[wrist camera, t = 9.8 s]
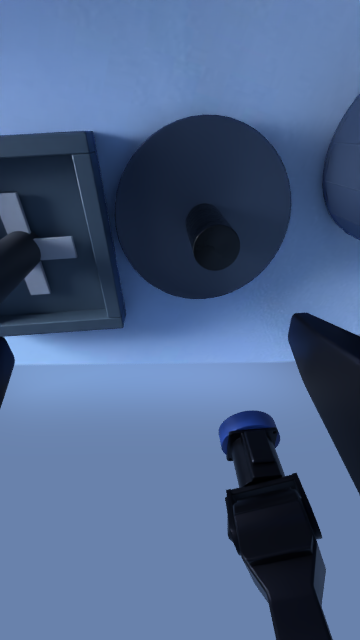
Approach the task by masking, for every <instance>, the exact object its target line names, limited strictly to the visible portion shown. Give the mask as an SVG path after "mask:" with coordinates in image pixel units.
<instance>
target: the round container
mask: <svg viewBox="0 0 360 640" xmlns="http://www.w3.org/2000/svg"><path fill="white" fill-rule="evenodd" d="M323 195H324V199H325V204H326V207H327V209H328V212H329V214H330V215H331V217H332V219H333V220H334V221H335V223H336V224H337V225H338V226H339V227H340V228H342V229H343V230H344V232H346V233H347V234H349V235H351V236H353V237H355V238H357V239H359V240H360V94H359V96H358V97H357V98H356V99H355V101H354V102H353V103H352V105H351V106H350V107H349V109H348V110H347V112H346V113H345V115H344V117H343V118H342V120H341V122H340V123H339V125H338V127H337V129H336V132H335V134H334V136H333V138H332V141H331V143H330V146H329V149H328V152H327V156H326V160H325V165H324V171H323Z"/></svg>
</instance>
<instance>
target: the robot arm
mask: <svg viewBox="0 0 360 640" xmlns="http://www.w3.org/2000/svg"><path fill="white" fill-rule="evenodd" d="M288 341H289V344H290V347H291V350H292V352H293V355H294V358H295V361H296V364H297V366H298V369H299V372H300V375H301V377H302V380H303V382H304V384H305V387H306V388H307V391H308V393H309V395H310V397H311V399H312V401H313V403H314V405H315V407H316V408H317V411H318V413H319V414H320V417H321V419H322V420H323V423H324V424H325V427H326V428H327V430H328V433H329V434H330V436H331V438H332V440H333V442H334V444H335V446H336V448H337V450H338V452H339V454H340V456H341V458H342V460H343V462H344V464H345V466H346V468H347V470H348V472H349V474H350V476H351V478H352V480H353V482H354V484H355V486H356V488H357V490H358V492H359V494H360V336H358V335H355V334H353V333H351V332H349V331H346V330H344V329H342V328H340V327H338V326H335V325H333V324H331V323H329V322H327V321H324V320H322V319H320V318H318V317H316V316H313V315H311V314H309V313H295V314H294V315H293V316H292V318H291V323H290V328H289V333H288ZM14 363H15V359H14V355H13V353H12V351H11V349H10V347H9V345H8V343H7V341H6V340H5V338H3V337H1V336H0V408H1V405H2V402H3V399H4V396H5V392H6V389H7V386H8V383H9V379H10V377H11V373H12V370H13V367H14ZM277 435H278V430H277V428H276V427H271V428H259V429H247V430H234V431H230V432H229V433H228V443H227V455H226V457H227V460H228V461H234V466H235V470H236V474H237V479H238V483H239V488H236V489H232V490H231V489H229V490H226V492H227V497H226V498H225V501H226V506H227V513H228V537H229V539H230V540H231V541H232V542H233V543H234V545H235V547H236V550H237V552H238V554H239V555H241V556H242V559H243V561H244V563H245V565H246V567H247V569H248V571H249V573H250V575H251V577H252V579H253V581H254V583H255V585H256V586H257V588H258V589H259V590H260V592H261V593H262V595H263V596H264V597H265V599H266V600H267V602H268V603H269V607H270V612H271V617H272V621H273V626H274V631H275V635H276V640H333V639H332V636H331V634H330V630H329V628H328V625H327V622H326V619H325V616H324V613H323V610H322V606H321V605H322V597H323V589H324V581H325V573H326V569H325V565H324V562H323V559H322V556H321V553H320V550H319V547H318V544H317V541H316V539H321V538H322V535H321V532H320V529H319V526H318V524H317V521H316V518H315V516H314V513H313V511H312V508H311V506H310V503H309V501H308V499H307V497H306V494H305V492H304V489H303V487H302V485H301V482H300V480H299V478H298V475H297V473H293V474H292V475H289V476H285V475H284V472H283V469H282V466H281V464H280V461H279V458H278V455H277V453H276V450H275V443H276V439H277Z"/></svg>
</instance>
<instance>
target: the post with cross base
mask: <svg viewBox="0 0 360 640" xmlns="http://www.w3.org/2000/svg"><path fill="white" fill-rule="evenodd" d="M0 216H1V219H2V222H3V224H4V227H5V229H6V232H7V234H8V235H7V236H5V237H4V238H2V239H1V240H0V304H1V303H2V302H3V301H4V300H5V299H6V298H7V296H8V295H9V294H10V293H11V292H12V291H13V290H14V289H15V288H16V287H17V286H18V285H19V284H20V283H21V282H22V280H23V279H24V278H25V281H26V283H27V286H28V289H29V291H30V294H31V295H38V294H50V293H51V290H50V287H49V284H48V281H47V278H46V275H45V272H44V269H43V266H42V263H41V260H53V259H68V258H77V257H78V256H77V252H76V248H75V244H74V240H73V237H72V236H64V237H49V238H40V237H39V236H38V235H37V234H35V233H34V232H32V231H30V228H29V225H28V222H27V219H26V216H25V213H24V210H23V207H22V204H21V201H20V198H19V196H18V193H17V192H13V193H0Z"/></svg>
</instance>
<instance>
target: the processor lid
mask: <svg viewBox="0 0 360 640" xmlns="http://www.w3.org/2000/svg"><path fill="white" fill-rule="evenodd" d="M290 211H291V191H290V185H289V179H288V176H287V173H286V169H285V167H284V165H283V163H282V160H281V158H280V156H279V155H278V153H277V152H276V150H275V149H274V147H273V146H272V145H271V144H270V143H269V141H268V140H267V139H266V138H265V137H264V136H263V135H261V134H260V133H259V132H258V131H257V130H255V129H254V128H252V127H250V126H249V125H247V124H245V123H243V122H241V121H238V120H236V119H233V118H230V117H225V116H220V115H198V116H190V117H187V118H184V119H180V120H177V121H175V122H173V123H171V124H168V125H166V126H164V127H163V128H161V129H160V130H158V131H157V132H155V133H154V134H152V135H151V136H150V137H149V138H148V139H147V140H146V141H145V142H144V143H143V144H142V145H141V146H140V147H139V148H138V150H137V151H136V152H135V153H134V155H133V156H132V158H131V159H130V161H129V163H128V164H127V166H126V168H125V170H124V173H123V175H122V177H121V180H120V183H119V187H118V190H117V196H116V202H115V222H116V229H117V234H118V238H119V241H120V244H121V247H122V249H123V251H124V253H125V255H126V257H127V259H128V261H129V262H130V263H131V265H132V266H133V268H134V269H135V270H136V271H137V272H138V273H139V274H140V276H142V277H143V278H144V279H145V280H146V281H147V282H148V283H150V284H151V285H153V286H154V287H156V288H158V289H160V290H162V291H164V292H166V293H168V294H171V295H174V296H178V297H182V298H190V299H206V298H214V297H218V296H222V295H225V294H228V293H230V292H233V291H235V290H237V289H239V288H241V287H243V286H244V285H246V284H247V283H249V282H250V281H252V280H253V279H254V278H255V277H257V276H258V275H259V274H260V273H261V272H262V271H263V270H264V269H265V268H266V267H267V265H268V264H269V263H270V262H271V260H272V259H273V258H274V256H275V254H276V253H277V251H278V250H279V248H280V245H281V243H282V241H283V239H284V236H285V234H286V231H287V227H288V223H289V219H290Z"/></svg>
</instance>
